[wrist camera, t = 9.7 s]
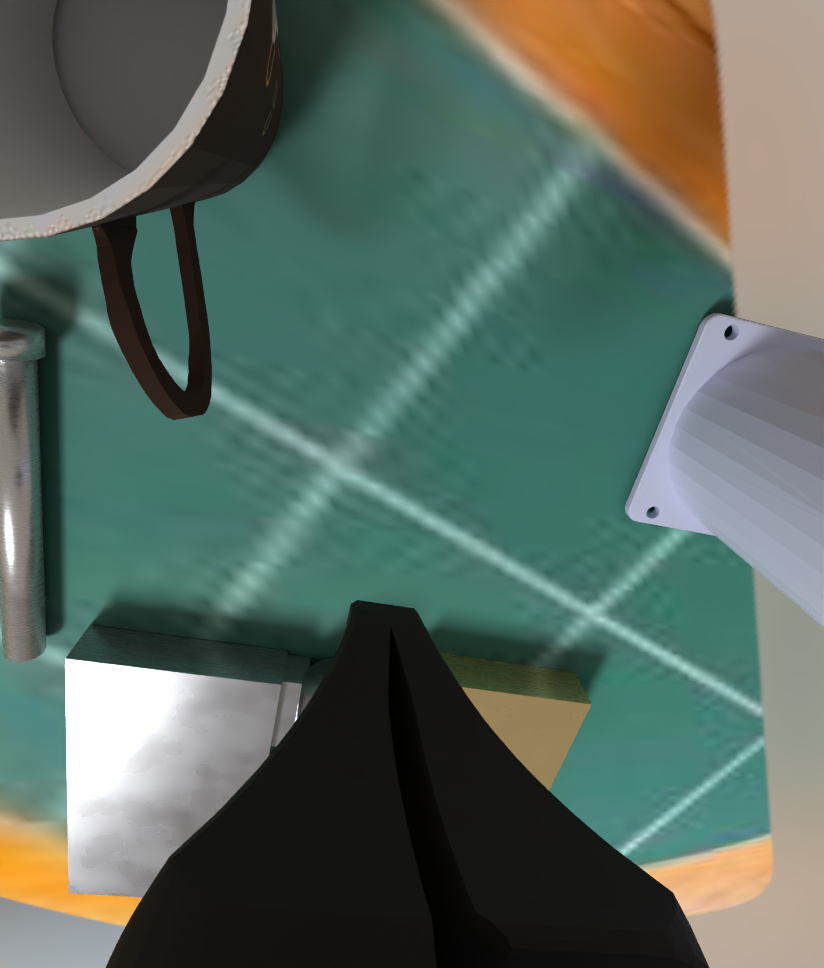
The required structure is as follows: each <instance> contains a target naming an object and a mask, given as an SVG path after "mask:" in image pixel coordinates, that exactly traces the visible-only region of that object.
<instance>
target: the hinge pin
mask: <svg viewBox="0 0 824 968" xmlns="http://www.w3.org/2000/svg"><path fill="white" fill-rule="evenodd" d="M44 356H45V328H44V327H42V326H41V325H38V324H36V323H32V322H29V321H25V320H20V319H14V318H7V317H0V612H1V627H2V642H3V655H4V657H5V658H6V659H8V660H11V661H16V662H21V661H28V660H31V659H34V658H36V657H38V656H40V655H41V654H42V653H43V652H44V651H45V649H46V617H45V585H44V552H43V520H42V487H41V455H40V422H39V390H38V359H41V358H43V357H44Z"/></svg>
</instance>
